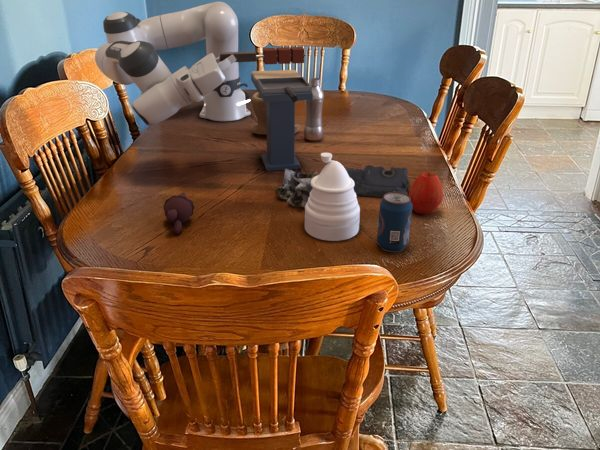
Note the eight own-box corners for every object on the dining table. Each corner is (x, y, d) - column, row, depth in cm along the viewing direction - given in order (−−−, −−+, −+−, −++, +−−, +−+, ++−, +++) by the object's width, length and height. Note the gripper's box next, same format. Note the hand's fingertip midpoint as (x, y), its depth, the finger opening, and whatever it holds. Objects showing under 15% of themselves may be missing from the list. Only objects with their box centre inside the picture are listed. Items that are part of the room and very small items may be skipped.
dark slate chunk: (329, 171, 165) (330, 156, 162) (406, 176, 162) (408, 161, 160) (324, 193, 151) (325, 177, 149) (408, 199, 149) (410, 182, 146)
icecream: (164, 184, 140) (151, 216, 127) (193, 177, 139) (183, 209, 126) (174, 207, 144) (163, 241, 131) (202, 201, 143) (193, 235, 130)
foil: (329, 176, 153) (320, 164, 139) (321, 215, 153) (312, 208, 138) (287, 169, 156) (275, 157, 141) (279, 208, 155) (266, 200, 140)
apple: (446, 216, 140) (452, 176, 135) (416, 220, 138) (421, 179, 133) (430, 202, 147) (436, 163, 142) (401, 206, 145) (406, 166, 140)
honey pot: (296, 234, 131) (297, 161, 123) (315, 211, 142) (317, 142, 133) (350, 245, 127) (354, 170, 119) (365, 220, 138) (370, 150, 129)
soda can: (376, 237, 131) (380, 189, 125) (406, 239, 130) (412, 191, 124) (376, 252, 124) (381, 203, 119) (408, 254, 124) (414, 205, 118)
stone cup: (246, 138, 190) (244, 93, 183) (258, 127, 200) (257, 84, 193) (289, 142, 186) (290, 97, 179) (300, 131, 196) (300, 88, 189)
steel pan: (257, 84, 157) (256, 77, 157) (302, 82, 160) (303, 75, 159) (268, 104, 140) (268, 96, 139) (320, 101, 143) (320, 94, 142)
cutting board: (251, 74, 167) (251, 71, 166) (295, 73, 169) (295, 69, 169) (256, 83, 158) (256, 79, 158) (302, 81, 161) (302, 77, 160)
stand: (253, 150, 179) (251, 73, 168) (293, 148, 182) (294, 72, 170) (265, 181, 158) (263, 95, 147) (310, 177, 161) (312, 93, 150)
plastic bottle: (323, 136, 192) (325, 76, 182) (322, 143, 186) (324, 81, 177) (304, 135, 192) (305, 76, 183) (302, 142, 186) (303, 81, 177)
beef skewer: (219, 63, 151) (218, 49, 149) (303, 60, 155) (304, 46, 154) (220, 66, 148) (219, 51, 146) (306, 63, 152) (307, 49, 151)
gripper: (194, 84, 160) (235, 57, 160) (198, 104, 143) (245, 74, 142) (181, 65, 157) (223, 37, 156) (184, 83, 140) (231, 52, 139)
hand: (233, 55), depth 149 cm, fingers closed on beef skewer, 2 cm apart
